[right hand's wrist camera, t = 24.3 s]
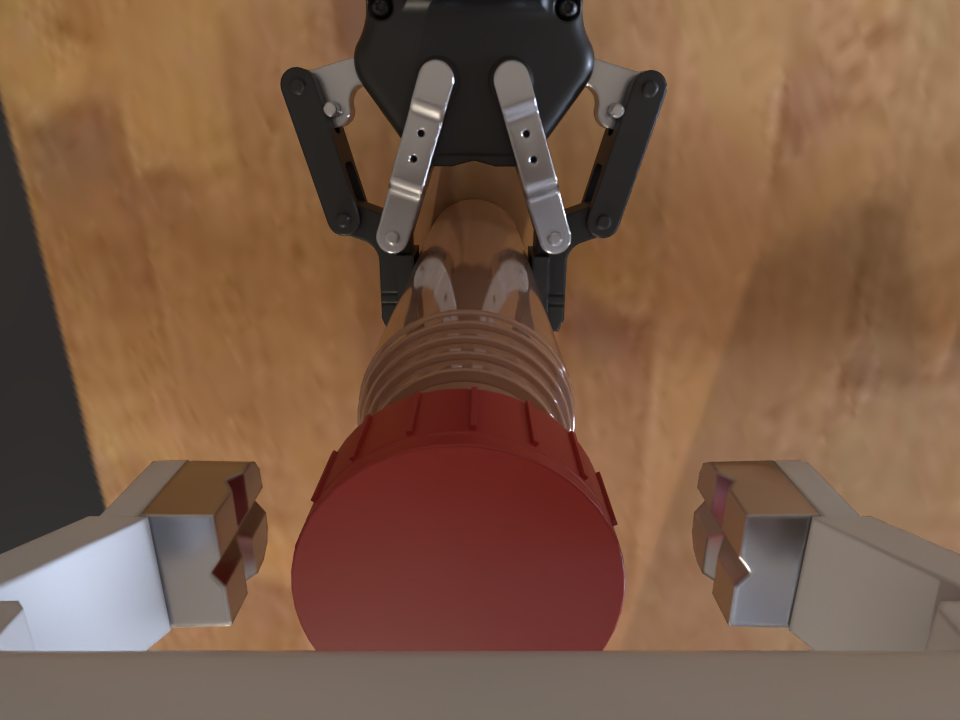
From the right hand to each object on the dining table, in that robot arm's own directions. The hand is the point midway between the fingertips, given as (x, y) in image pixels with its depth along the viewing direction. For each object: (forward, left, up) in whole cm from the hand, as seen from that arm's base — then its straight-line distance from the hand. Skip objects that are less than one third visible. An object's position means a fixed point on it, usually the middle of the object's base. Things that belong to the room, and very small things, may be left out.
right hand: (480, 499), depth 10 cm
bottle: (0, 0, -23) cm, 23 cm away
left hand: (-1, +3, -17) cm, 17 cm away
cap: (0, 0, +2) cm, 2 cm away
